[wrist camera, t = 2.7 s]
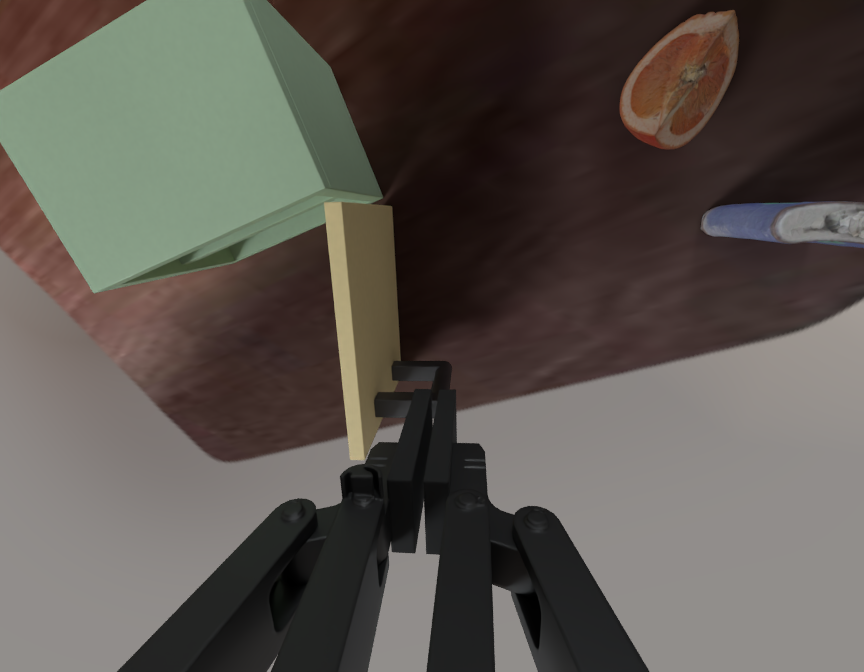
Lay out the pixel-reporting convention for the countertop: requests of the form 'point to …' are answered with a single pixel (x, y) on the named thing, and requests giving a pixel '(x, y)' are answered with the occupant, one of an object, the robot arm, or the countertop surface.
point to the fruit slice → (681, 80)
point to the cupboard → (183, 140)
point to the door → (371, 322)
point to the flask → (790, 222)
